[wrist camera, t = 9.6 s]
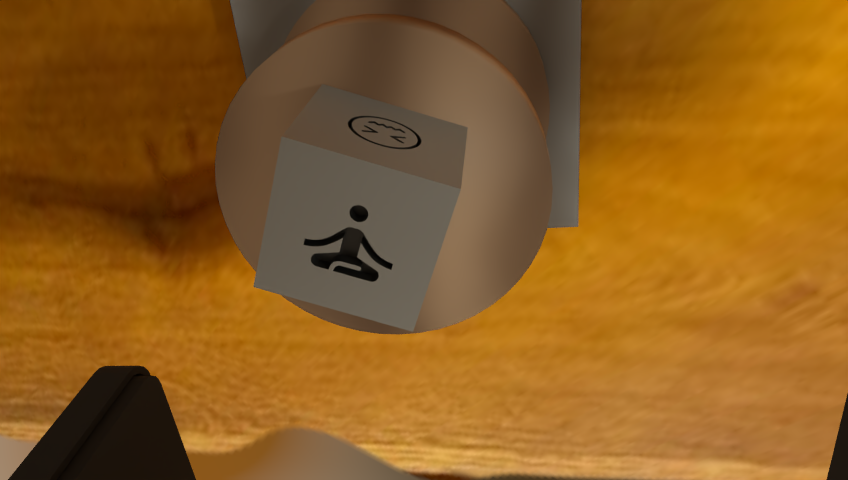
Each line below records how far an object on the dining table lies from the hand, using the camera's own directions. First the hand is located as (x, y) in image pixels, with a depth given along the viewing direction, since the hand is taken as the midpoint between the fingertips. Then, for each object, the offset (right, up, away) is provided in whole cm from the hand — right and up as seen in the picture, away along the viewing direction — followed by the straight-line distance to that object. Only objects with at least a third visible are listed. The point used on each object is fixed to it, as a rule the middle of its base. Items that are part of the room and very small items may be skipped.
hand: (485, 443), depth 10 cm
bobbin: (-1, +10, +25) cm, 27 cm away
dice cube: (-2, +5, +15) cm, 16 cm away
